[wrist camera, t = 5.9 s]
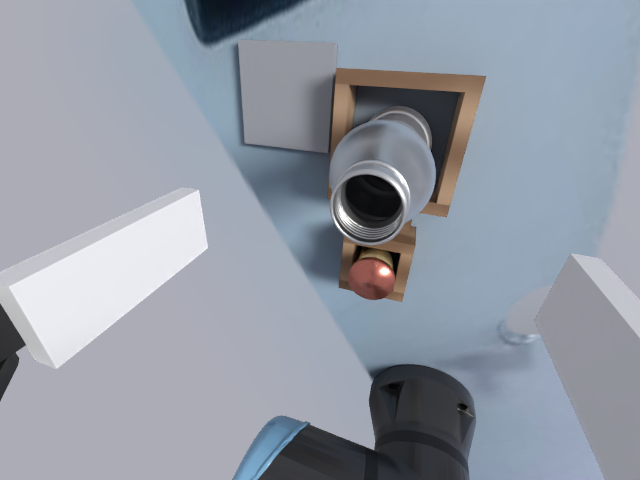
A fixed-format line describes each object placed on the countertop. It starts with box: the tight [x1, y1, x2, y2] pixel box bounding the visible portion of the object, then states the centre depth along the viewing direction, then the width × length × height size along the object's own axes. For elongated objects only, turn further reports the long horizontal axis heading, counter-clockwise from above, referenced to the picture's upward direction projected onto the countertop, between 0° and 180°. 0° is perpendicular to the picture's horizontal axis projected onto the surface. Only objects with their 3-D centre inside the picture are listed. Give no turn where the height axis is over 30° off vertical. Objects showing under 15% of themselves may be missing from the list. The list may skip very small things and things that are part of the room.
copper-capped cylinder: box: [348, 246, 395, 300], centre depth 34 cm, size 5×5×7 cm
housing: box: [328, 68, 486, 302], centre depth 31 cm, size 23×12×4 cm, turn 177°
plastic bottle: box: [330, 106, 436, 246], centre depth 22 cm, size 6×7×20 cm
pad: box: [238, 40, 338, 153], centre depth 32 cm, size 10×10×1 cm
